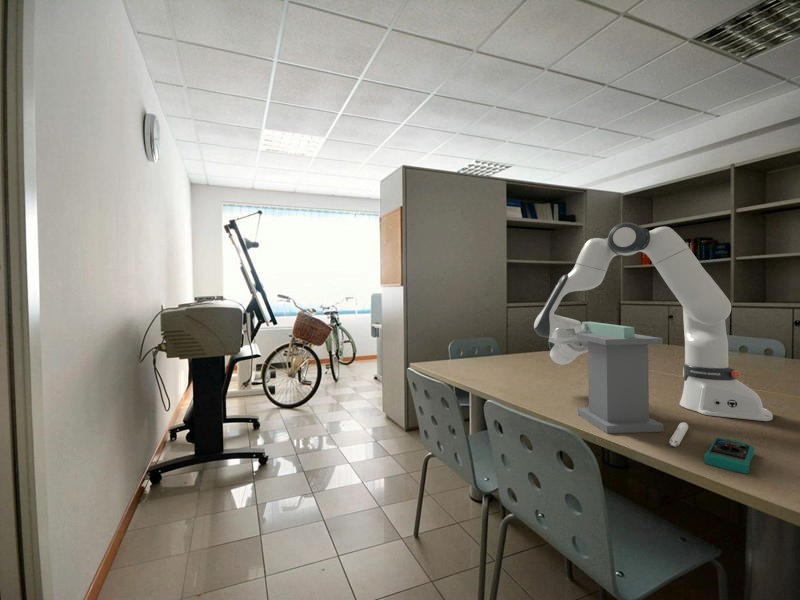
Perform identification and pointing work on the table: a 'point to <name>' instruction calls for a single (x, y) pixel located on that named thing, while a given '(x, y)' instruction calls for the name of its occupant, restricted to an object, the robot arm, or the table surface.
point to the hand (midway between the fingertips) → (592, 325)
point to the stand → (619, 383)
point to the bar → (610, 329)
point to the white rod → (678, 434)
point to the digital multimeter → (730, 455)
